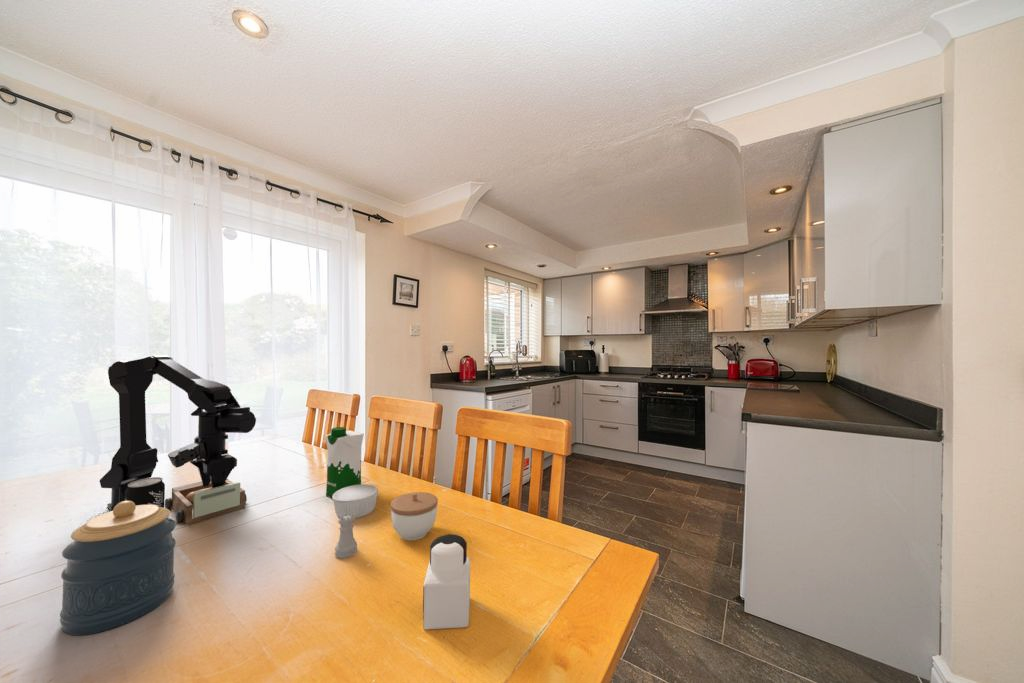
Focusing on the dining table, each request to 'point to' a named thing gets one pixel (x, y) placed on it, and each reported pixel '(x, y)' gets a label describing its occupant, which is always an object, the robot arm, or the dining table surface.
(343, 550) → the rook chess piece
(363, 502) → the ramekin
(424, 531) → the lidded jar
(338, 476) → the milk carton
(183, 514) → the wooden drawer box
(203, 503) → the tailgate
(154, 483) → the beverage can
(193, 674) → the dining table surface
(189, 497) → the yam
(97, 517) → the canister
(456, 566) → the white block figurine
